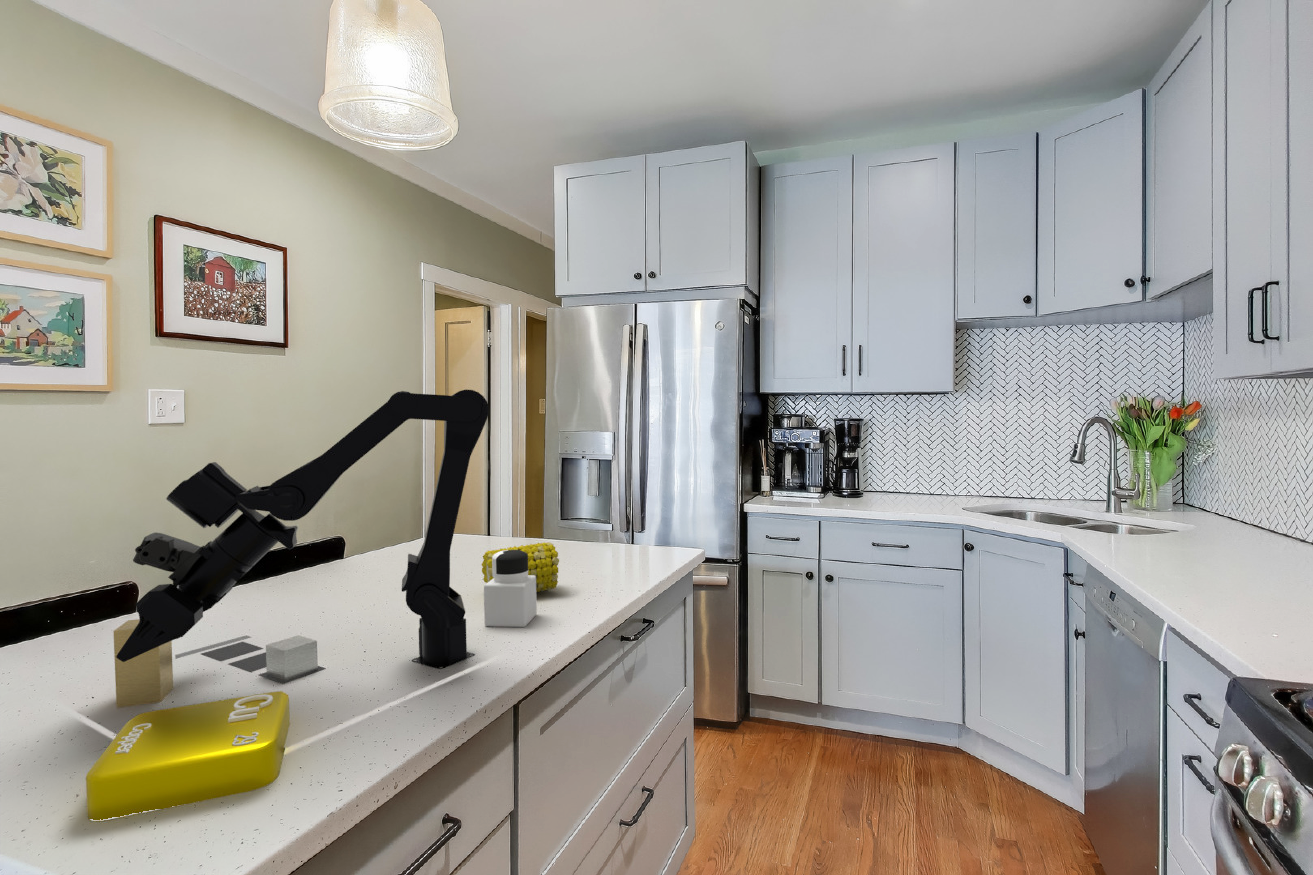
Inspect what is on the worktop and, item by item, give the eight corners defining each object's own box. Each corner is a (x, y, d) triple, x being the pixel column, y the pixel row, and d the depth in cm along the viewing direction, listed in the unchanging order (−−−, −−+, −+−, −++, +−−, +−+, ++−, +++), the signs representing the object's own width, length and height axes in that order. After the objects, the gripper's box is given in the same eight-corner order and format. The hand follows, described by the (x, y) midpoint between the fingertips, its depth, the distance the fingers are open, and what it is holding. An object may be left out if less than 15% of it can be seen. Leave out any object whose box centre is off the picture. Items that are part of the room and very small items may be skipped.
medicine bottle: (537, 614, 117) (536, 547, 117) (525, 627, 110) (524, 556, 110) (498, 613, 118) (496, 547, 118) (483, 626, 111) (482, 555, 110)
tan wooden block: (173, 692, 86) (170, 616, 85) (161, 706, 82) (158, 626, 81) (131, 697, 84) (128, 620, 84) (116, 712, 80) (113, 630, 80)
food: (478, 606, 123) (476, 552, 123) (483, 589, 135) (482, 540, 134) (560, 601, 126) (559, 548, 125) (558, 585, 137) (558, 537, 137)
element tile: (134, 752, 71) (132, 708, 71) (291, 724, 77) (290, 683, 77) (79, 831, 58) (76, 777, 57) (276, 789, 64) (274, 740, 63)
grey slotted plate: (343, 669, 93) (343, 664, 93) (271, 695, 84) (271, 690, 84) (246, 638, 106) (246, 634, 106) (175, 658, 98) (175, 654, 98)
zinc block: (317, 669, 91) (316, 640, 91) (285, 680, 87) (284, 650, 87) (299, 663, 94) (298, 635, 94) (266, 673, 90) (265, 644, 90)
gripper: (203, 501, 92) (109, 587, 89) (155, 521, 75) (35, 629, 71) (268, 553, 95) (180, 638, 92) (237, 583, 78) (126, 690, 74)
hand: (135, 646), depth 82 cm, fingers open, 9 cm apart
